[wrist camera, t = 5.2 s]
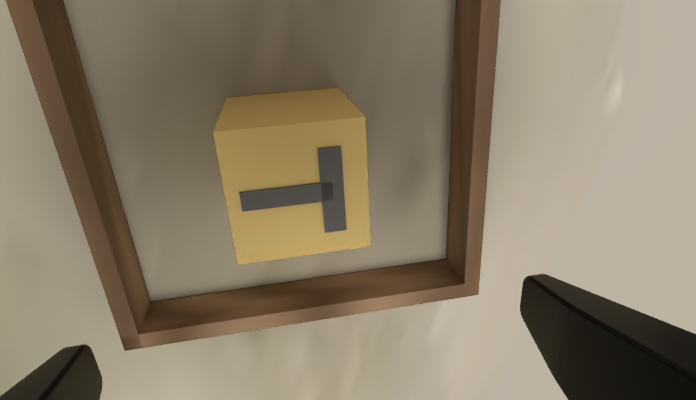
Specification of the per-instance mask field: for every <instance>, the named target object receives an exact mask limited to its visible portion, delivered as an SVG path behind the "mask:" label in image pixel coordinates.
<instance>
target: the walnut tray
mask: <svg viewBox="0 0 696 400" xmlns="http://www.w3.org/2000/svg"><path fill="white" fill-rule="evenodd" d="M500 1H501V0H456V26H455V52H454V78H453V103H452V129H451V155H450V181H449V207H448V233H447V259H444V260H437V261H430V262H423V263H416V264H409V265H403V266H396V267H389V268H382V269H375V270H368V271H361V272H355V273H348V274H341V275H334V276H327V277H320V278H313V279H306V280H300V281H293V282H286V283H279V284H272V285H265V286H258V287H252V288H245V289H238V290H231V291H224V292H217V293H210V294H203V295H197V296H190V297H183V298H176V299H169V300H162V301H155V302H150V298H149V295H148V291H147V288H146V284H145V281H144V278H143V274H142V271H141V267H140V264H139V260H138V257H137V254H136V250H135V247H134V243H133V240H132V237H131V233H130V230H129V226H128V223H127V219H126V216H125V213H124V209H123V206H122V202H121V199H120V195H119V192H118V189H117V185H116V182H115V178H114V175H113V171H112V168H111V165H110V161H109V158H108V154H107V151H106V147H105V144H104V141H103V137H102V134H101V130H100V127H99V123H98V120H97V117H96V113H95V110H94V106H93V103H92V99H91V96H90V93H89V89H88V86H87V82H86V79H85V75H84V72H83V69H82V65H81V62H80V58H79V55H78V51H77V48H76V45H75V41H74V38H73V34H72V31H71V27H70V24H69V21H68V17H67V14H66V10H65V7H64V3H63V0H6V2H7V5H8V8H9V11H10V14H11V17H12V20H13V23H14V26H15V29H16V32H17V35H18V38H19V41H20V43H21V46H22V49H23V52H24V55H25V58H26V61H27V64H28V67H29V70H30V73H31V76H32V79H33V82H34V85H35V88H36V91H37V94H38V97H39V99H40V102H41V105H42V108H43V111H44V114H45V117H46V120H47V123H48V126H49V129H50V132H51V135H52V138H53V141H54V144H55V147H56V150H57V152H58V155H59V158H60V161H61V164H62V167H63V170H64V173H65V176H66V179H67V182H68V185H69V188H70V191H71V194H72V197H73V200H74V203H75V206H76V208H77V211H78V214H79V217H80V220H81V223H82V226H83V229H84V232H85V235H86V238H87V241H88V244H89V247H90V250H91V253H92V256H93V259H94V262H95V264H96V267H97V270H98V273H99V276H100V279H101V282H102V285H103V288H104V291H105V294H106V297H107V300H108V303H109V306H110V309H111V312H112V315H113V317H114V320H115V323H116V326H117V329H118V332H119V335H120V338H121V341H122V344H123V347H124V350H125V351H126V350H132V349H138V348H145V347H151V346H157V345H164V344H170V343H176V342H183V341H189V340H195V339H202V338H208V337H214V336H220V335H227V334H233V333H239V332H246V331H252V330H258V329H265V328H271V327H277V326H284V325H290V324H296V323H303V322H309V321H315V320H321V319H328V318H334V317H340V316H347V315H353V314H359V313H366V312H372V311H378V310H385V309H391V308H397V307H404V306H410V305H416V304H422V303H429V302H435V301H441V300H448V299H454V298H460V297H467V296H473V295H478V292H479V279H480V265H481V252H482V239H483V226H484V213H485V199H486V186H487V173H488V160H489V146H490V133H491V120H492V107H493V94H494V80H495V67H496V54H497V41H498V27H499V14H500Z"/></svg>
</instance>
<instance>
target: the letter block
mask: <svg viewBox="0 0 696 400" xmlns="http://www.w3.org/2000/svg"><path fill="white" fill-rule="evenodd" d="M213 135H214V141H215V146H216V151H217V157H218V162H219V167H220V173H221V178H222V184H223V189H224V194H225V200H226V205H227V210H228V216H229V221H230V227H231V232H232V237H233V243H234V248H235V253H236V259H237V264H238V265H240V264H247V263H255V262H262V261H269V260H276V259H283V258H291V257H298V256H305V255H312V254H319V253H327V252H334V251H341V250H348V249H355V248H363V247H370V246H371V239H370V215H369V192H368V168H367V144H366V120H365V116H364V115H363V114H362V113H361V112H360V111H359V110H358V108H357V107H356V106H355V105H354V104H353V103H352V102H351V101H350V100H349V99H348V98H347V97H346V95H345V94H344V93H343V92H342V91H341V90H340V89H339V88H329V89H318V90H307V91H296V92H284V93H273V94H262V95H251V96H239V97H228V98H226V101H225V103H224V106H223V108H222V111H221V113H220V116H219V118H218V121H217V123H216V126H215V128H214V131H213Z"/></svg>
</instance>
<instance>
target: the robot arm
mask: <svg viewBox="0 0 696 400" xmlns="http://www.w3.org/2000/svg"><path fill="white" fill-rule="evenodd" d="M520 311H521V315H522V318H523V320H524V322H525V324H526V326H527V328H528V330H529V331H530V333H531V335H532V337H533V339H534V341H535V343H536V344H537V346H538V349H539V350H540V352H541V354H542V356H543V358H544V360H545V362H546V364H547V365H548V368H549V369H550V371H551V373H552V375H553V376H554V378H555V380H556V381H557V383H558V384H559V386H560V387H561V389H562V391H563V392H564V394H565V395H566V397H567V398H568V400H696V334H694V333H691V332H689V331H686V330H684V329H681V328H679V327H676V326H674V325H671V324H669V323H666V322H664V321H661V320H659V319H656V318H654V317H651V316H648V315H646V314H643V313H641V312H639V311H636V310H634V309H631V308H628V307H626V306H624V305H621V304H618V303H616V302H613V301H611V300H609V299H606V298H603V297H601V296H598V295H596V294H593V293H591V292H588V291H586V290H583V289H581V288H578V287H576V286H573V285H571V284H568V283H566V282H563V281H561V280H558V279H556V278H553V277H551V276H548V275H546V274H538V275H531V276H527V277H526V278H525V279H524V281H523V288H522V296H521V304H520ZM101 390H102V376H101V373H100V370H99V368H98V365H97V362H96V360H95V357H94V355H93V352H92V350H91V348H90V347H89V346H88V345H85V344H84V345H77V346H70V347H66V348H63V349H62V350H60V351H59V352H58V353H56V354H55V355H54V356H52V357H51V358H50V359H48V360H47V361H46V362H45V363H43V364H42V365H41V366H39V367H38V368H37V369H35V370H34V371H33V372H31V373H30V374H29V375H28V376H26V377H25V378H24V379H22V380H21V381H20V382H18V383H17V384H16V385H15V386H13V387H12V388H11V389H9V390H8V391H7V392H5V393H4V394H3V395H1V396H0V400H99V399H100V395H101Z"/></svg>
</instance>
